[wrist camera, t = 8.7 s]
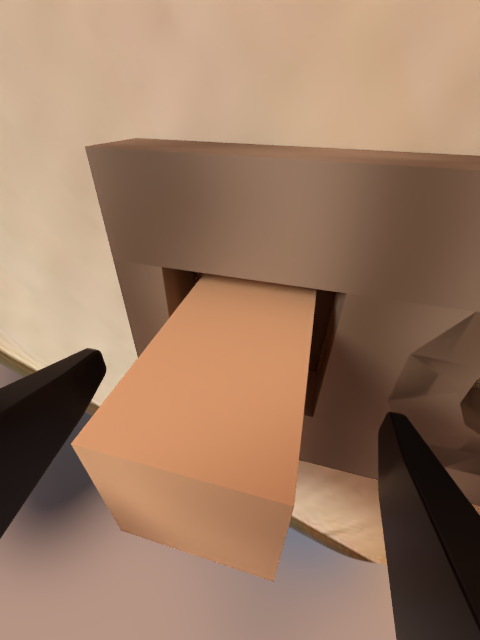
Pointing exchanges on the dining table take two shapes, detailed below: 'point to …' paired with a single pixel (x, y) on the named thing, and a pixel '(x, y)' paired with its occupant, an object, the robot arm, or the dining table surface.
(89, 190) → the dining table surface
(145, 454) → the square peg
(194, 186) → the socket board
